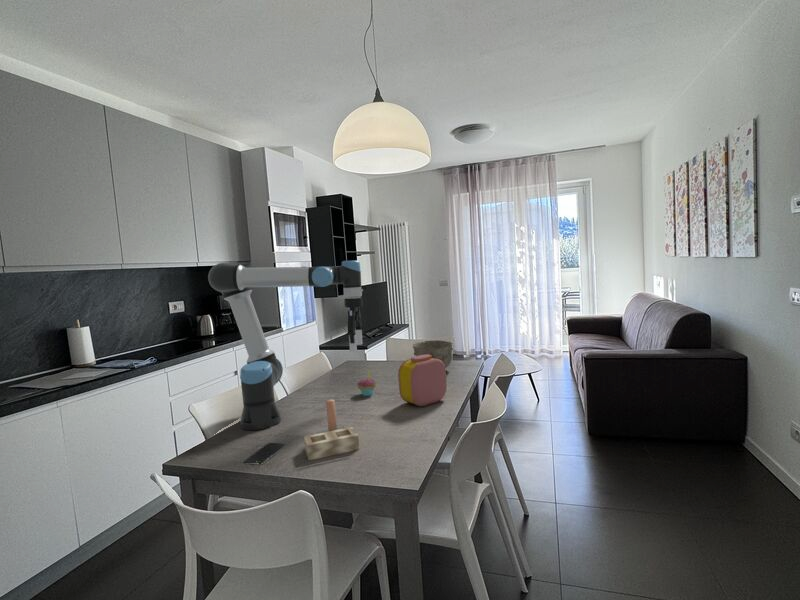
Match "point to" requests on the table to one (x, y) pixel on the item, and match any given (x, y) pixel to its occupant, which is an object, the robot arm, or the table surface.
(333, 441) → the hole block
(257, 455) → the smartphone
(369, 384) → the cupcake
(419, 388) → the alarm clock
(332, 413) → the peg
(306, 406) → the table surface
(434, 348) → the bowl
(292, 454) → the table surface
